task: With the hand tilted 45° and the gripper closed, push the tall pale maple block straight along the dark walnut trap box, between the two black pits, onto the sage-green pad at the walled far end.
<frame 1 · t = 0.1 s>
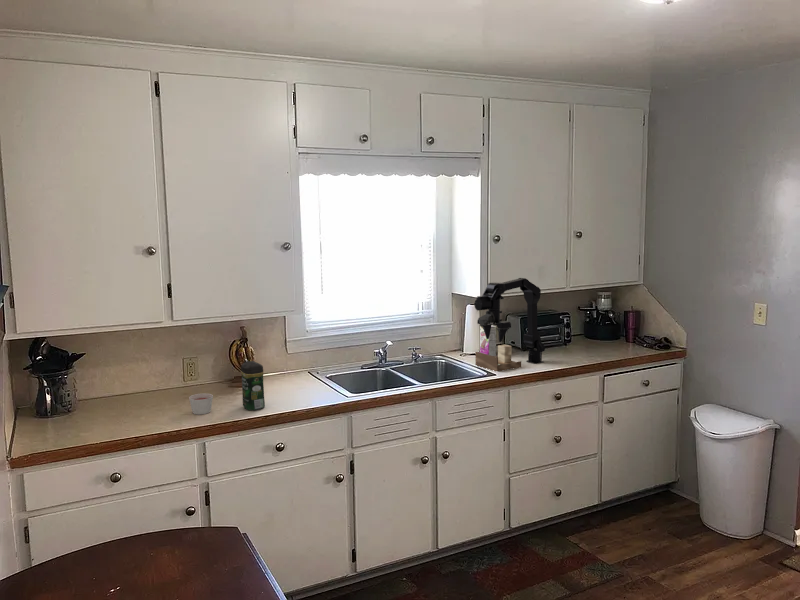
hand: (493, 340, 320), 15 cm above the worktop, tool pointing down, fingers open, 9 cm apart
trap box: (498, 366, 329), on the worktop
coffee jar: (253, 408, 262), on the worktop
candle: (201, 412, 257), on the worktop
maple block: (504, 361, 331), point 2 cm above the worktop, touching trap box
candy bar box: (487, 355, 356), on the worktop
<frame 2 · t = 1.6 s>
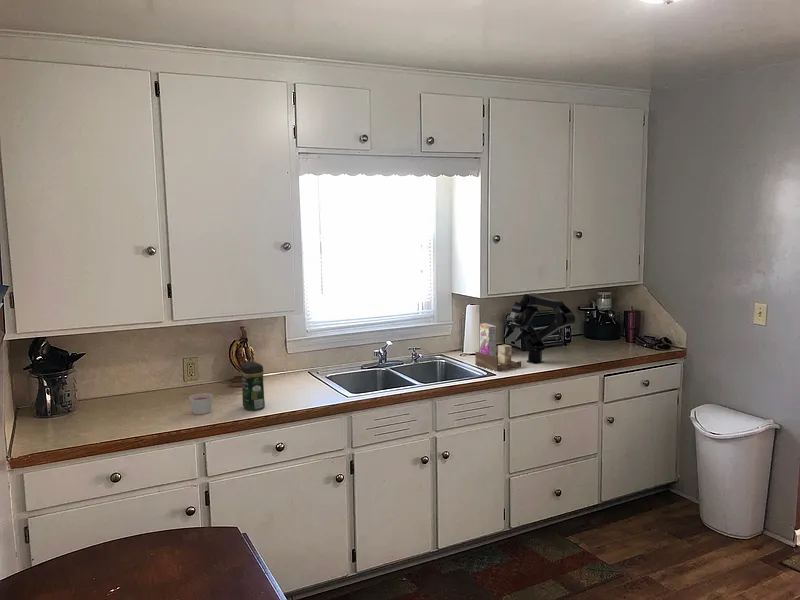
hand: (509, 339, 332), 13 cm above the worktop, tool tilted 45°, fingers open, 7 cm apart
nothing on the worktop moved.
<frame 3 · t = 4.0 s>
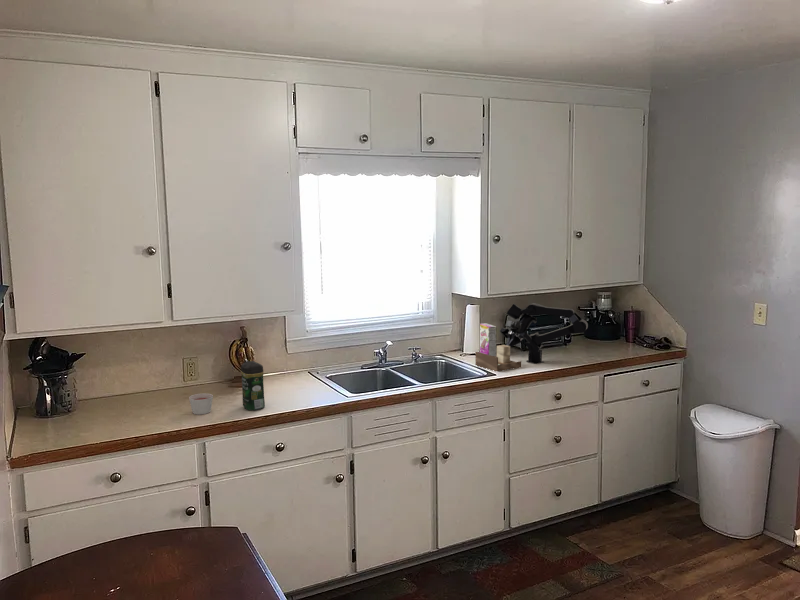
hand: (506, 348, 331), 8 cm above the worktop, tool tilted 45°, fingers closed
maple block: (503, 361, 330), point 2 cm above the worktop, touching gripper
everything else where it was.
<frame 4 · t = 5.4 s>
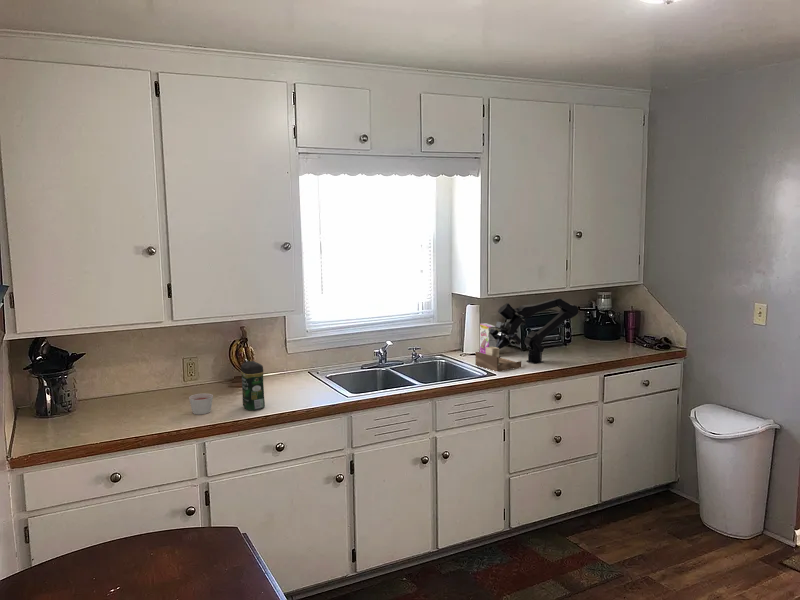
hand: (495, 349, 327), 9 cm above the worktop, tool tilted 45°, fingers closed
maple block: (492, 363, 326), point 2 cm above the worktop, touching trap box
everything else where it was.
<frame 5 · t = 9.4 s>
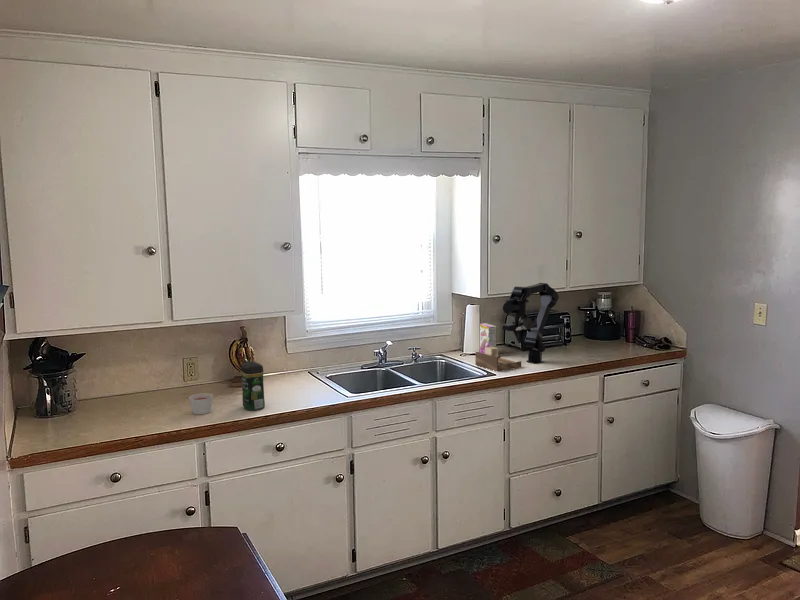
hand: (519, 342, 327), 12 cm above the worktop, tool pointing down, fingers closed
nothing on the worktop moved.
at the end: maple block 0.4 cm from the target spot on the trap box, point 2.0 cm above the trap box's base; maple block tilted 0° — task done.
